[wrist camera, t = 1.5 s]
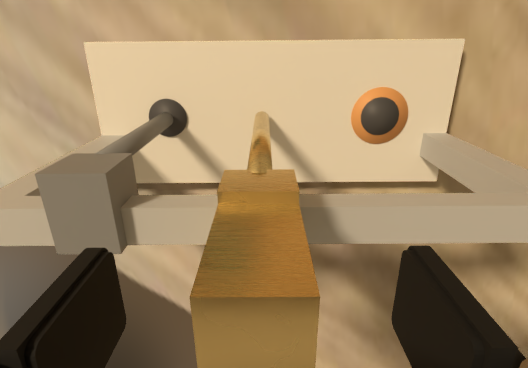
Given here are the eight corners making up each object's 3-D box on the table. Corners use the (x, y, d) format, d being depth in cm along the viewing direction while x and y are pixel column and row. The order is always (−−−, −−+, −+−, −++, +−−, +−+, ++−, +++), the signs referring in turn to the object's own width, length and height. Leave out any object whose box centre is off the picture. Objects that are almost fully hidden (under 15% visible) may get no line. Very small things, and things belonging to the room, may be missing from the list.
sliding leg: (243, 111, 27) (187, 276, 7) (279, 111, 27) (321, 274, 7) (245, 158, 29) (201, 401, 9) (279, 158, 29) (312, 400, 9)
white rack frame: (92, 42, 28) (-130, 32, 12) (455, 39, 27) (704, 24, 12) (117, 177, 32) (-21, 297, 16) (429, 175, 32) (585, 294, 16)
